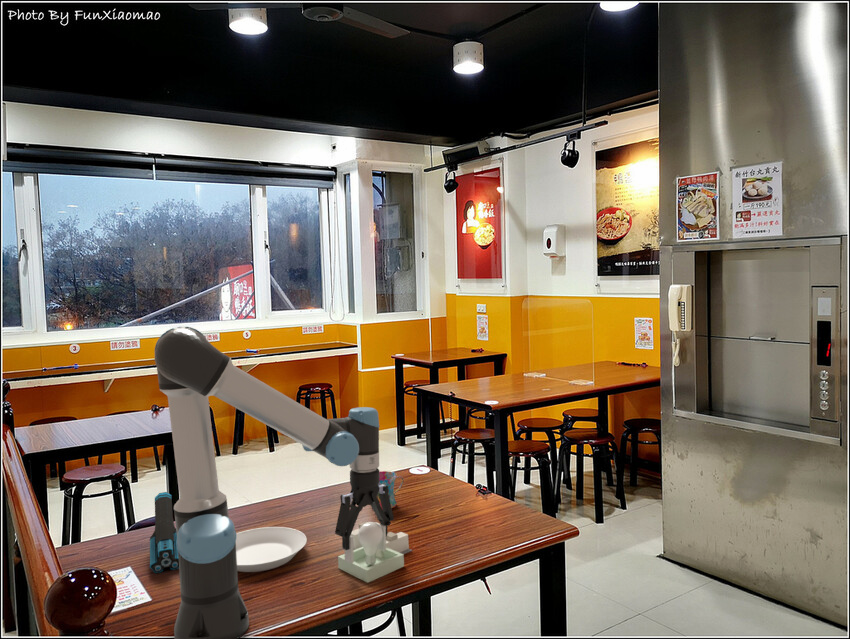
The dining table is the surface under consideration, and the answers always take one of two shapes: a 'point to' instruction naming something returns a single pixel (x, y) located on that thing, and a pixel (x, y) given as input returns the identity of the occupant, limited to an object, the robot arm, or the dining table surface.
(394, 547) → the holder
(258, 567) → the bowl
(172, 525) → the gun
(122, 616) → the dining table surface
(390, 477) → the mug
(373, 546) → the lightbulb
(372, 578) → the tray
